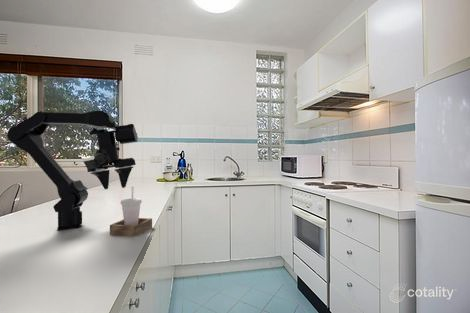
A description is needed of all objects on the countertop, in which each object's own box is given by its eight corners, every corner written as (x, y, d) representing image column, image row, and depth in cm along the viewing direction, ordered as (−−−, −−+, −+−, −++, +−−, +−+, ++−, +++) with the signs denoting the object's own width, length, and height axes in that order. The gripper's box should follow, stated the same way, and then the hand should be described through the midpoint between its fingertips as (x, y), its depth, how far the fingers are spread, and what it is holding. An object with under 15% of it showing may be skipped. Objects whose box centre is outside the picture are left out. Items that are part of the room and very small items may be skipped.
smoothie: (146, 227, 79) (145, 186, 79) (131, 233, 73) (131, 188, 73) (131, 225, 81) (131, 185, 81) (116, 231, 75) (115, 187, 75)
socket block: (109, 234, 73) (109, 225, 73) (128, 225, 83) (128, 217, 82) (136, 236, 72) (136, 226, 72) (152, 227, 81) (152, 218, 81)
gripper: (68, 151, 81) (76, 195, 82) (104, 143, 73) (112, 192, 74) (98, 148, 91) (105, 188, 92) (132, 141, 83) (140, 184, 84)
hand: (114, 188), depth 85 cm, fingers open, 9 cm apart
